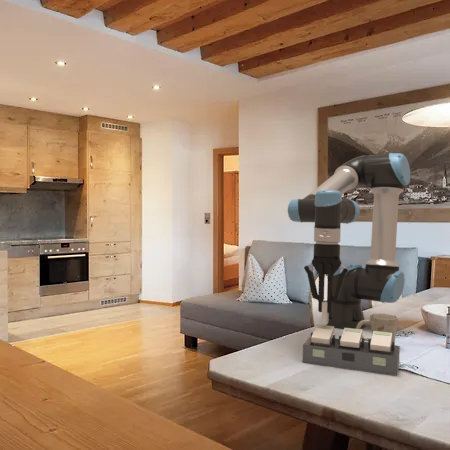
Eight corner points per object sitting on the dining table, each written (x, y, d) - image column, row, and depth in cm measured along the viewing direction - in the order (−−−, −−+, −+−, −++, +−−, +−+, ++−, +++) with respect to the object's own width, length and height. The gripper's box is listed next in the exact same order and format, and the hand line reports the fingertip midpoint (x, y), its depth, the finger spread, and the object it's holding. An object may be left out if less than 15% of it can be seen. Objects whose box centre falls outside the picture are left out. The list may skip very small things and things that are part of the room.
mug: (399, 352, 141) (400, 319, 141) (356, 349, 144) (357, 317, 144) (394, 345, 150) (395, 314, 149) (354, 342, 152) (355, 311, 152)
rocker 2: (344, 332, 135) (344, 327, 134) (362, 334, 133) (362, 329, 133) (340, 345, 128) (340, 340, 127) (358, 348, 126) (358, 342, 125)
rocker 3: (373, 335, 132) (373, 330, 131) (392, 337, 130) (392, 332, 129) (370, 349, 125) (370, 343, 124) (390, 351, 123) (390, 346, 122)
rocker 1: (317, 329, 138) (317, 324, 138) (334, 331, 136) (334, 326, 136) (311, 342, 131) (311, 336, 131) (329, 344, 129) (329, 338, 129)
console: (311, 351, 140) (311, 328, 140) (399, 363, 130) (399, 338, 130) (302, 362, 130) (302, 337, 130) (397, 376, 120) (397, 348, 120)
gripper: (301, 242, 135) (299, 323, 135) (347, 244, 130) (345, 328, 130) (307, 241, 142) (305, 318, 142) (351, 243, 136) (349, 323, 137)
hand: (324, 323), depth 136 cm, fingers closed
